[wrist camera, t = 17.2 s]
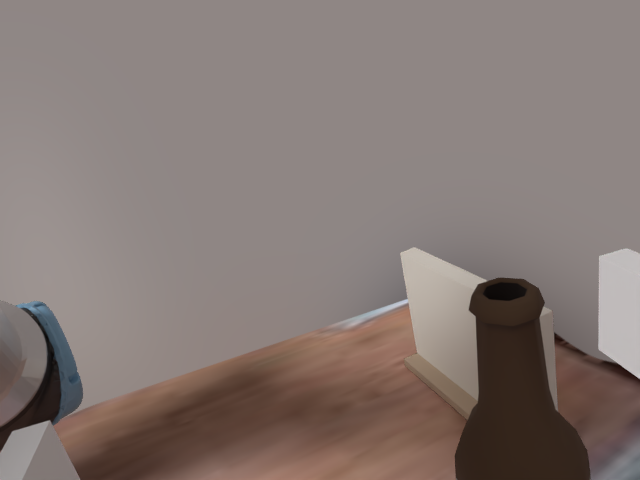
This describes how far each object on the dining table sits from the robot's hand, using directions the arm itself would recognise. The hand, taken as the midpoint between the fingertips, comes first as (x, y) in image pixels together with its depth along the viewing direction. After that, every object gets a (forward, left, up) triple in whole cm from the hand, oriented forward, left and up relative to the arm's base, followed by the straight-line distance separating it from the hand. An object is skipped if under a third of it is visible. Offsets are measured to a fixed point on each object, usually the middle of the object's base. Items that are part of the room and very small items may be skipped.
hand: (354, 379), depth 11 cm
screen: (-19, +30, -31) cm, 47 cm away
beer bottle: (-5, +14, -30) cm, 34 cm away
